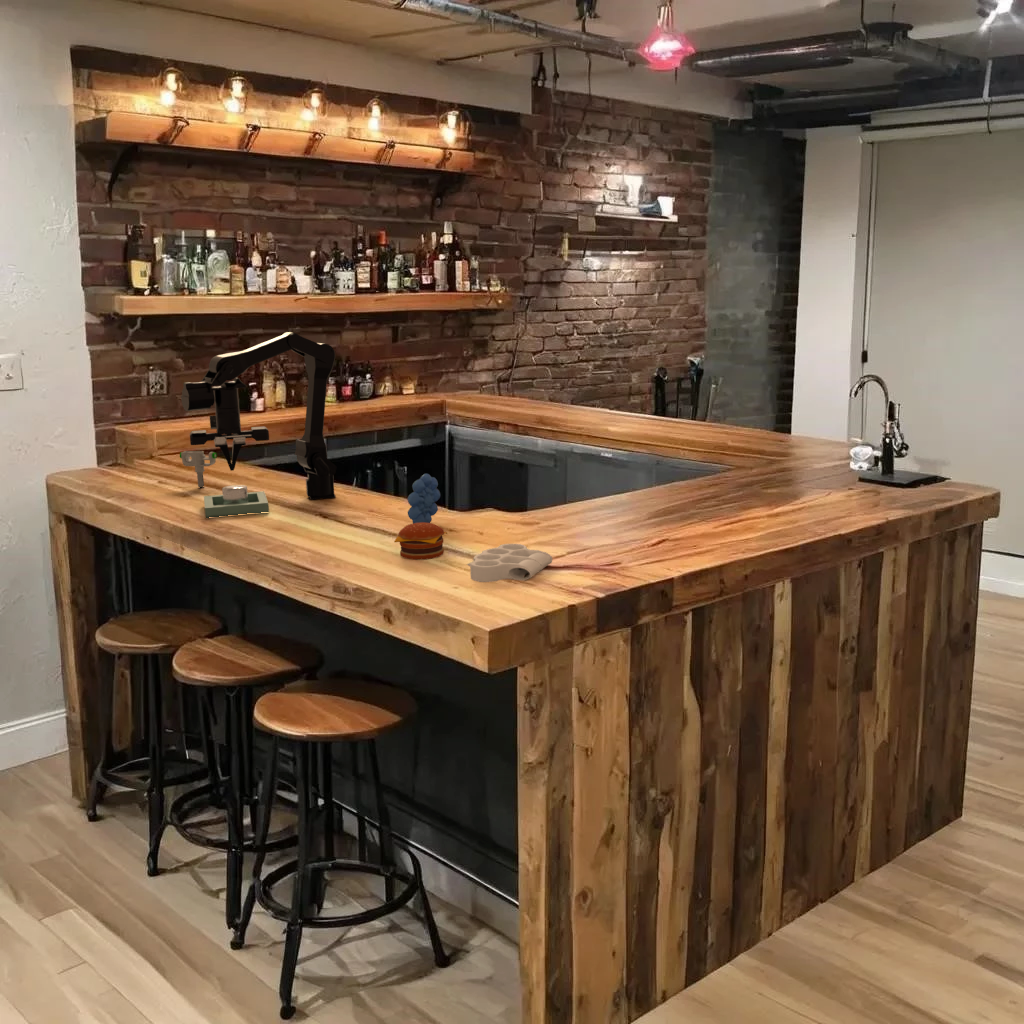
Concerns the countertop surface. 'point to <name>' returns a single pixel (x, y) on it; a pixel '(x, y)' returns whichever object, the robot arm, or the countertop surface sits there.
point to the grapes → (423, 499)
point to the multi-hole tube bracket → (508, 563)
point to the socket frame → (235, 505)
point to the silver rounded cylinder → (235, 494)
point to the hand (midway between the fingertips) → (232, 470)
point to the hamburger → (421, 541)
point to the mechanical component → (198, 462)
